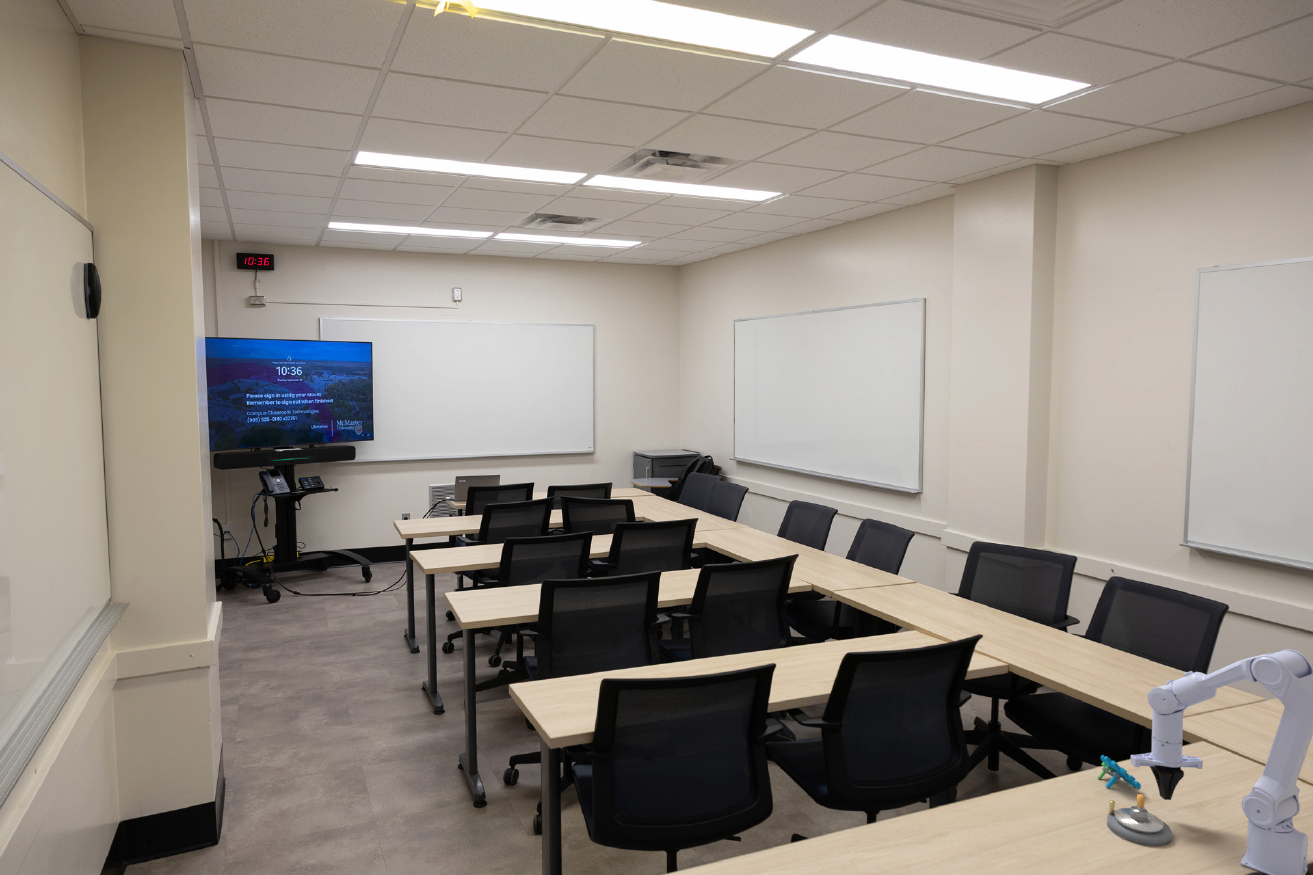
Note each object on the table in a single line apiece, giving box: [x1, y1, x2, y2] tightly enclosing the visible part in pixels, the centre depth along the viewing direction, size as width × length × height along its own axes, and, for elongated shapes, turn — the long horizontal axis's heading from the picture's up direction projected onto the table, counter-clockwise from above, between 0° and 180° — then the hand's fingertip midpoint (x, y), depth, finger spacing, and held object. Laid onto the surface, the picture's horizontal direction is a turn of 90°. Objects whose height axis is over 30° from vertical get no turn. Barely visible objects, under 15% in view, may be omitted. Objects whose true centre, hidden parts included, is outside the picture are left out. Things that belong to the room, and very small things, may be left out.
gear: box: [1097, 754, 1142, 790], centre depth 191 cm, size 11×6×10 cm
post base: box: [1106, 799, 1172, 847], centre depth 171 cm, size 12×12×4 cm
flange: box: [1115, 793, 1164, 833], centre depth 172 cm, size 11×9×4 cm
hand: (1165, 797), depth 176 cm, fingers closed
